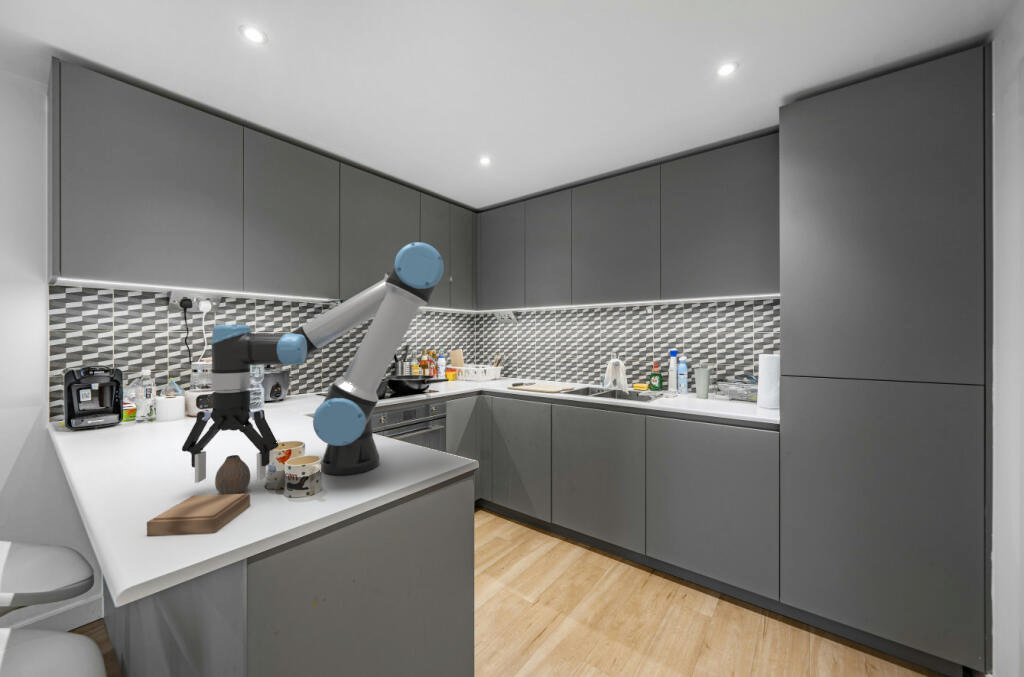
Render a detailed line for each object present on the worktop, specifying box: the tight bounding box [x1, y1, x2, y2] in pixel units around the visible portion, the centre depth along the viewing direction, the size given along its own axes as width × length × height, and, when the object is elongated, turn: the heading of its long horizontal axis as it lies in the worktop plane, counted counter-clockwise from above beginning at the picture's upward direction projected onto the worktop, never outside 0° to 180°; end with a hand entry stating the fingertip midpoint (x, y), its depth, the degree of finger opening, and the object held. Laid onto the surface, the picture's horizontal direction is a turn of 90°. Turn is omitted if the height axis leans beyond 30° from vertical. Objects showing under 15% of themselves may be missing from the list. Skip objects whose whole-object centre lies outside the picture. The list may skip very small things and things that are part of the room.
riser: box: [146, 493, 251, 537], centre depth 83 cm, size 12×12×3 cm
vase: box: [214, 454, 251, 495], centre depth 96 cm, size 7×7×9 cm
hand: (231, 480), depth 96 cm, fingers open, 13 cm apart
